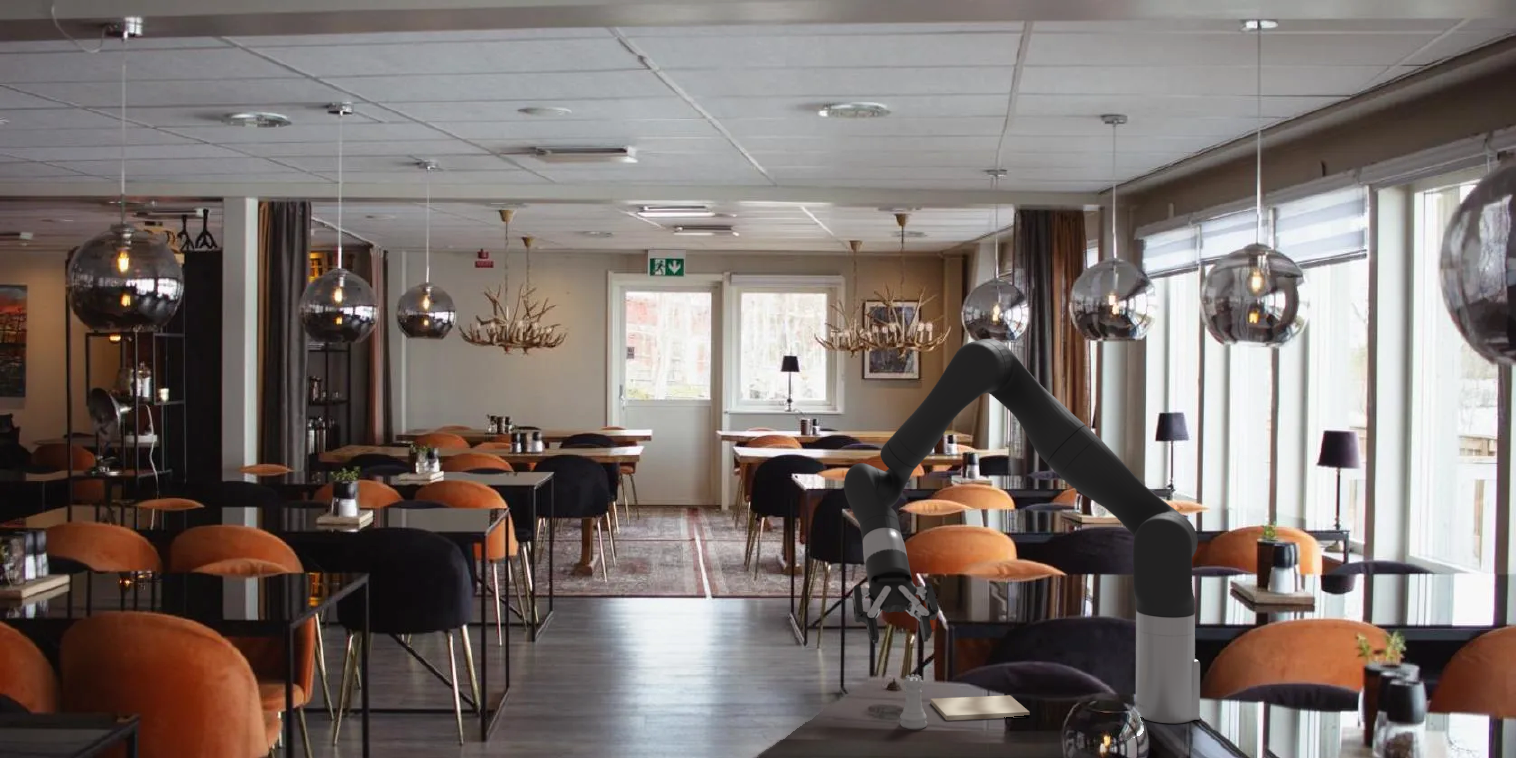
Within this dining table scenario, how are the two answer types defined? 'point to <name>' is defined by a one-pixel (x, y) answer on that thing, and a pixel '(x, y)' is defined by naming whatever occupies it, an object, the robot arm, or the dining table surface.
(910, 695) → the rook chess piece
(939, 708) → the birch placemat
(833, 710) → the dining table surface
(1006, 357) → the robot arm
